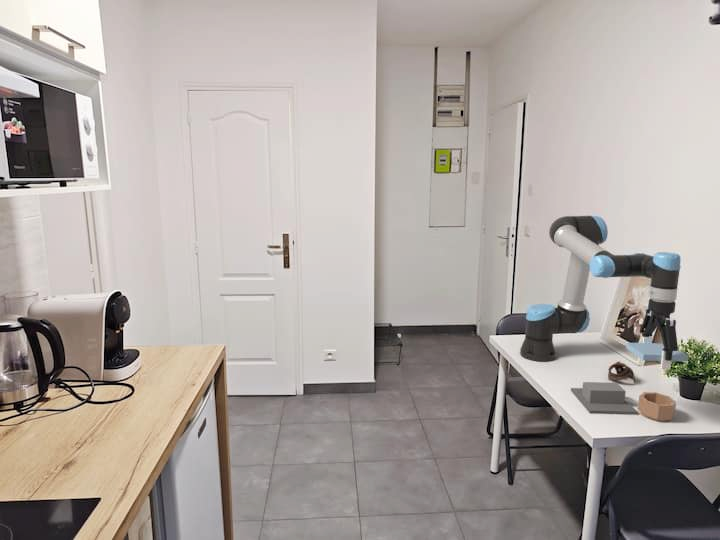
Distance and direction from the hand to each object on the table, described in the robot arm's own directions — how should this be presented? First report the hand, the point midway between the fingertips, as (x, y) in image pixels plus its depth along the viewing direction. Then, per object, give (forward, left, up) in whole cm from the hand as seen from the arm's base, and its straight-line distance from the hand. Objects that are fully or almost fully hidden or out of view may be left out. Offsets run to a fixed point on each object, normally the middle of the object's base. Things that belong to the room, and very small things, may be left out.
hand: (655, 361), depth 163 cm
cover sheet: (0, 0, +3) cm, 3 cm away
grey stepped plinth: (-8, -12, -19) cm, 24 cm away
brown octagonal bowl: (+1, +2, -19) cm, 19 cm away
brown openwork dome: (-28, +3, -19) cm, 34 cm away
